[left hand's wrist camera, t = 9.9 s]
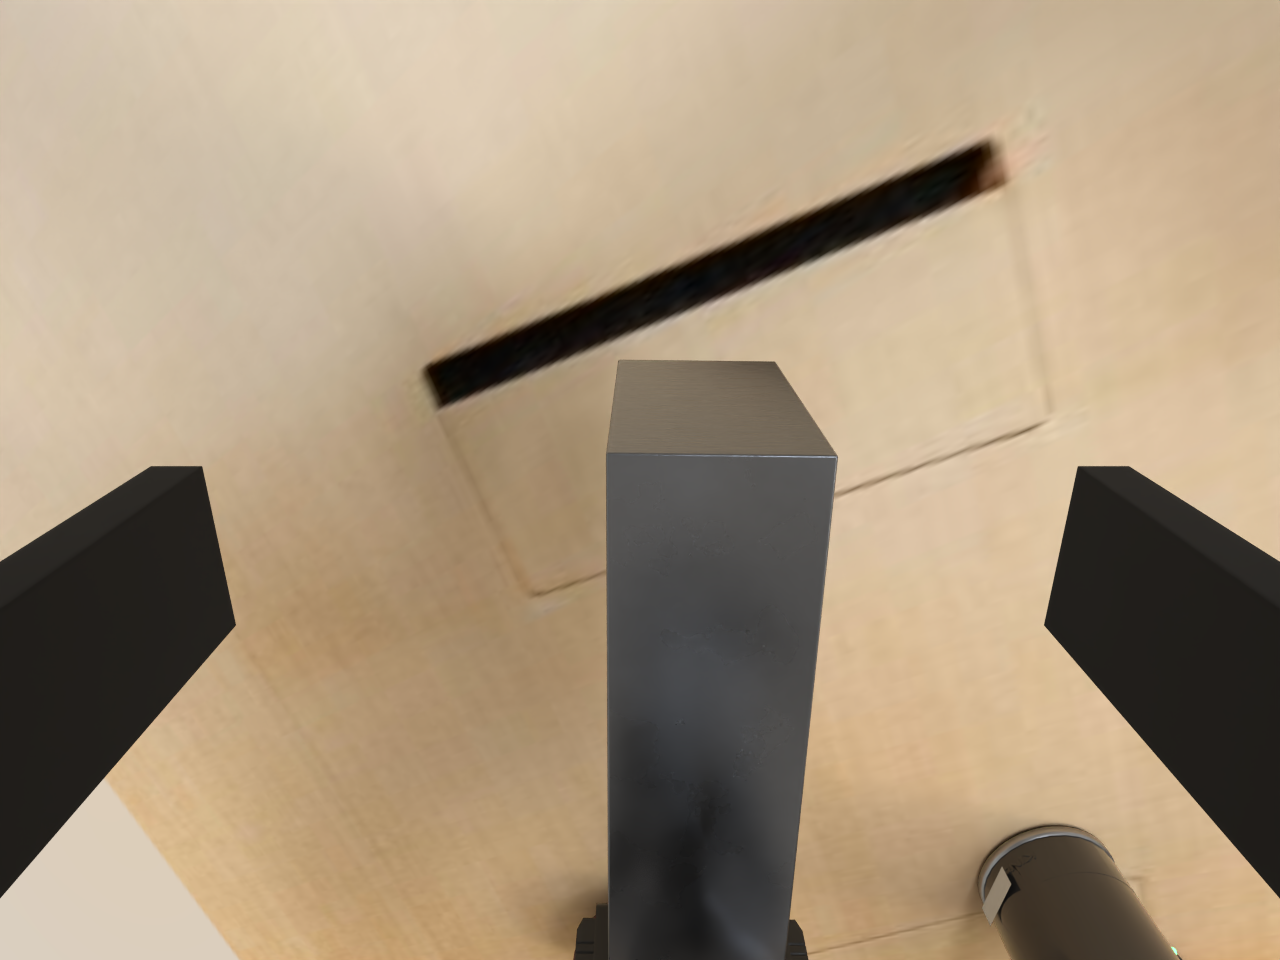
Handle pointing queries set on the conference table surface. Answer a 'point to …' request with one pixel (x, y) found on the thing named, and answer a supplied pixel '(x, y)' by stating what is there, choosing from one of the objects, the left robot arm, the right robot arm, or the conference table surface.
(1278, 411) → the conference table surface
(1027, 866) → the right robot arm
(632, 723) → the box
